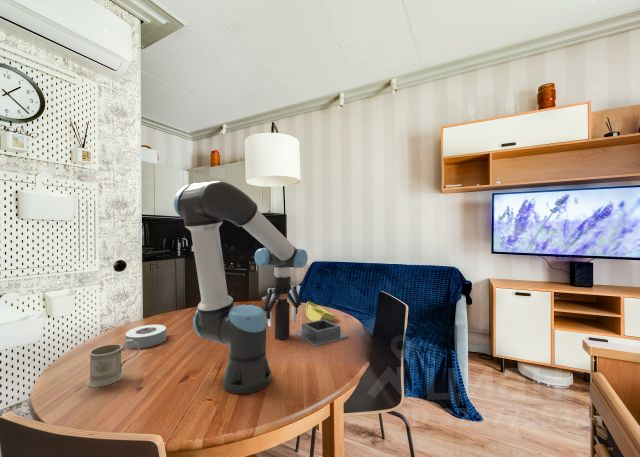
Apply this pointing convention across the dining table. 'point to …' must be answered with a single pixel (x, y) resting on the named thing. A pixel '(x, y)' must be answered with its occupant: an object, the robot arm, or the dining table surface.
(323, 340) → the duct collar
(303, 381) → the dining table surface
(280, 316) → the vinegar
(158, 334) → the tape roll
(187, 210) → the robot arm
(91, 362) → the mug
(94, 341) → the dining table surface
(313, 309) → the plastic component
